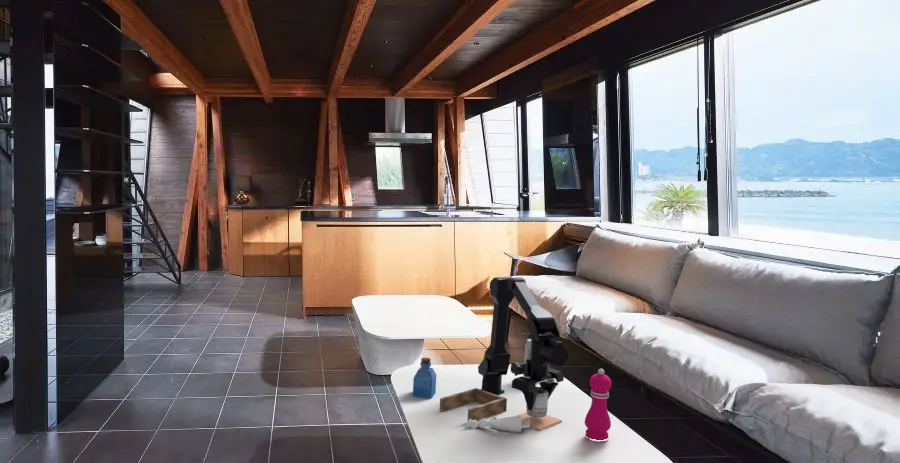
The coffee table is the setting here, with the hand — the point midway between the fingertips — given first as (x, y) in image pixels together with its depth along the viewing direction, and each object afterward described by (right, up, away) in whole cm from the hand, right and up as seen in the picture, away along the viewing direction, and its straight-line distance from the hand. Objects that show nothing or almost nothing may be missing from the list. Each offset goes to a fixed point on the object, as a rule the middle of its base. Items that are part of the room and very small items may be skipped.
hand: (536, 407), depth 195 cm
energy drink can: (+3, -2, +40) cm, 40 cm away
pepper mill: (+16, -6, -11) cm, 20 cm away
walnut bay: (-19, -3, +6) cm, 20 cm away
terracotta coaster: (0, -4, 0) cm, 4 cm away
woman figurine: (-12, -5, -7) cm, 15 cm away
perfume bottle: (-34, -1, +19) cm, 39 cm away
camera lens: (0, -2, 0) cm, 2 cm away
